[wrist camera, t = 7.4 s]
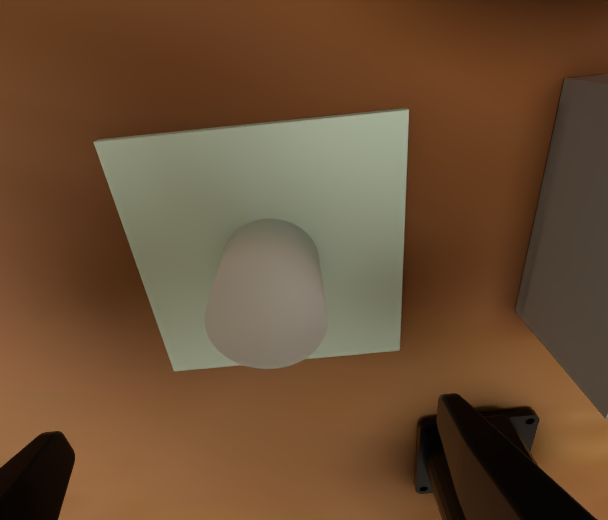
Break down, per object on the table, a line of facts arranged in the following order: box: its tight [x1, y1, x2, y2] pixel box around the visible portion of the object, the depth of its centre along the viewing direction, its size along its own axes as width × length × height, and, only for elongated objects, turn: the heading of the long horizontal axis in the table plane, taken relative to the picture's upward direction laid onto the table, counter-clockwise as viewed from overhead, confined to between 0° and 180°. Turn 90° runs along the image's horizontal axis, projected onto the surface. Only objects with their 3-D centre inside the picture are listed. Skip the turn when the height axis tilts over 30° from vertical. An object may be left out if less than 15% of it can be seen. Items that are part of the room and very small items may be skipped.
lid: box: [94, 108, 409, 371], centre depth 15 cm, size 11×11×5 cm
